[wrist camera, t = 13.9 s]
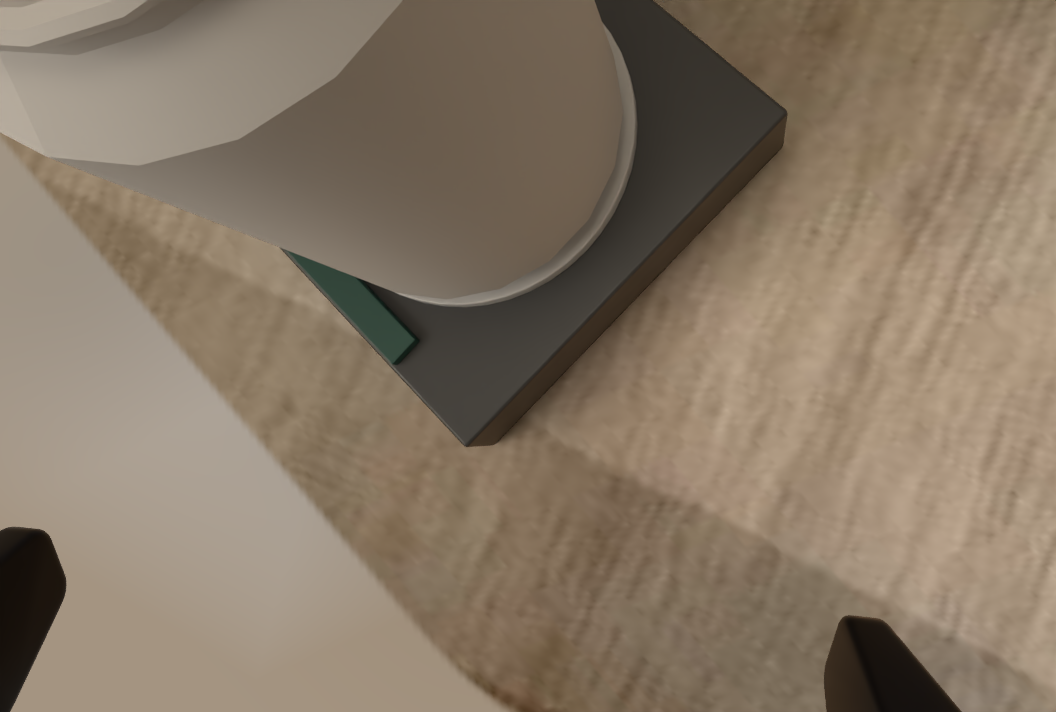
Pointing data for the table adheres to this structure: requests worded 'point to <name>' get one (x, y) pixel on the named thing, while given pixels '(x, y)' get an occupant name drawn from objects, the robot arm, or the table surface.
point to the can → (334, 122)
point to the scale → (581, 235)
